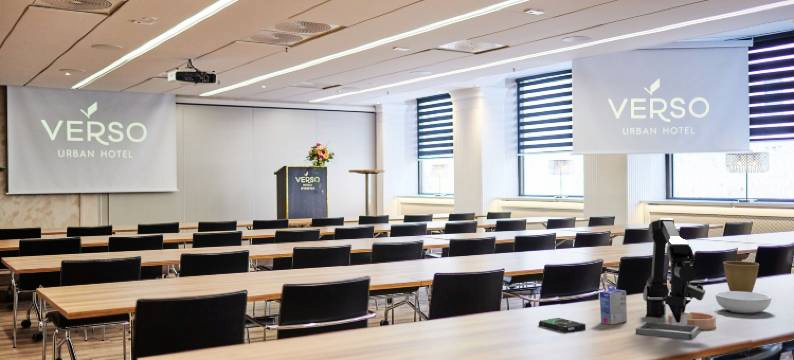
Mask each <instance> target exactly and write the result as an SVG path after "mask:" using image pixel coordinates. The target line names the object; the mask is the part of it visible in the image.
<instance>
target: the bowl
mask: <svg viewBox="0 0 794 360" xmlns="http://www.w3.org/2000/svg"><path fill="white" fill-rule="evenodd" d="M667 317H668V318H667V319H668V320H667V321H668V323H669V324H672V312H670V313H668V316H667ZM691 318H692V319H687V325H690V326H700V330H711V329H712V330H713V329H715V328H716V326H717V316H715V315H714V314H710V313H706V312H705V313H704V312H696V311H691Z"/></svg>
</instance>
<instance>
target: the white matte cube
mask: <svg viewBox="0 0 794 360" xmlns="http://www.w3.org/2000/svg"><path fill="white" fill-rule="evenodd" d="M691 312H692V311H691V310H685V312H684V313H687V319H692V318H691Z"/></svg>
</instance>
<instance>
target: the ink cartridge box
mask: <svg viewBox="0 0 794 360" xmlns="http://www.w3.org/2000/svg"><path fill="white" fill-rule="evenodd" d="M606 287H607V289H608V290H604V291H599V303H600V304H599V307H600V323H601V324H606V325H614V324H615V325H616V324H620V323H621V324H622V323H627V321H628V316H627V315H628V314H627V313H628V311H627V309H628V308H627V291H626V290H625V289H624V290H623V289H616V288H615V285H614V284H613V283H612V284H606ZM610 287H611V288H610Z"/></svg>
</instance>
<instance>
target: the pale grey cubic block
mask: <svg viewBox="0 0 794 360" xmlns="http://www.w3.org/2000/svg"><path fill="white" fill-rule="evenodd" d="M671 313H672V312H671ZM672 325H678V326H686V325H687V313H684V312H682V314H681V319H680V323H677V322H676V320H675V318H674V316H673V313H672Z"/></svg>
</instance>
